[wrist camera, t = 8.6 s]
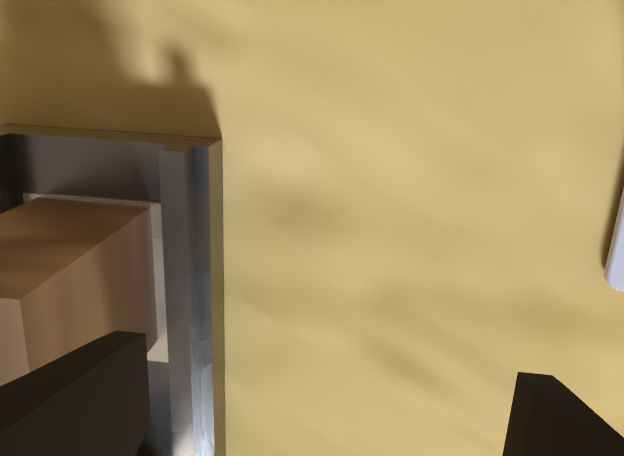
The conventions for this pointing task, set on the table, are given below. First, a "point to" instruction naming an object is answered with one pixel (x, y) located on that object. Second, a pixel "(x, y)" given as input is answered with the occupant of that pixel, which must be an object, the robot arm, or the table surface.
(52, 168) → the rail
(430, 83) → the table surface
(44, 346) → the walnut finger
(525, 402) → the robot arm
